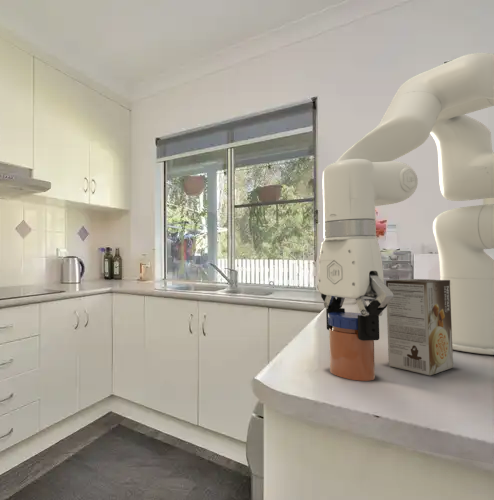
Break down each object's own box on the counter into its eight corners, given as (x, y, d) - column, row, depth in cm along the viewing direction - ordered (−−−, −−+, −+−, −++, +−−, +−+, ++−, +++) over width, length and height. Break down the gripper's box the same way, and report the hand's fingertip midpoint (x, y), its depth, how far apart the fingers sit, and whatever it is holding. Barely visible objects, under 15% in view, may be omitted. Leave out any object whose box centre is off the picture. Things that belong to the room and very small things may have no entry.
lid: (380, 331, 54) (379, 319, 54) (330, 327, 57) (329, 316, 57) (371, 324, 60) (370, 313, 60) (326, 321, 63) (326, 311, 63)
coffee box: (410, 359, 66) (408, 278, 67) (454, 368, 61) (451, 280, 61) (387, 366, 62) (384, 279, 63) (431, 376, 57) (428, 281, 57)
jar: (327, 366, 62) (326, 317, 62) (370, 371, 59) (368, 319, 60) (332, 377, 56) (331, 323, 57) (379, 383, 54) (378, 326, 54)
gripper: (298, 235, 67) (300, 325, 67) (368, 227, 50) (371, 348, 49) (334, 235, 67) (336, 324, 67) (416, 227, 50) (419, 347, 50)
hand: (351, 333), depth 58 cm, fingers closed on lid, 6 cm apart
